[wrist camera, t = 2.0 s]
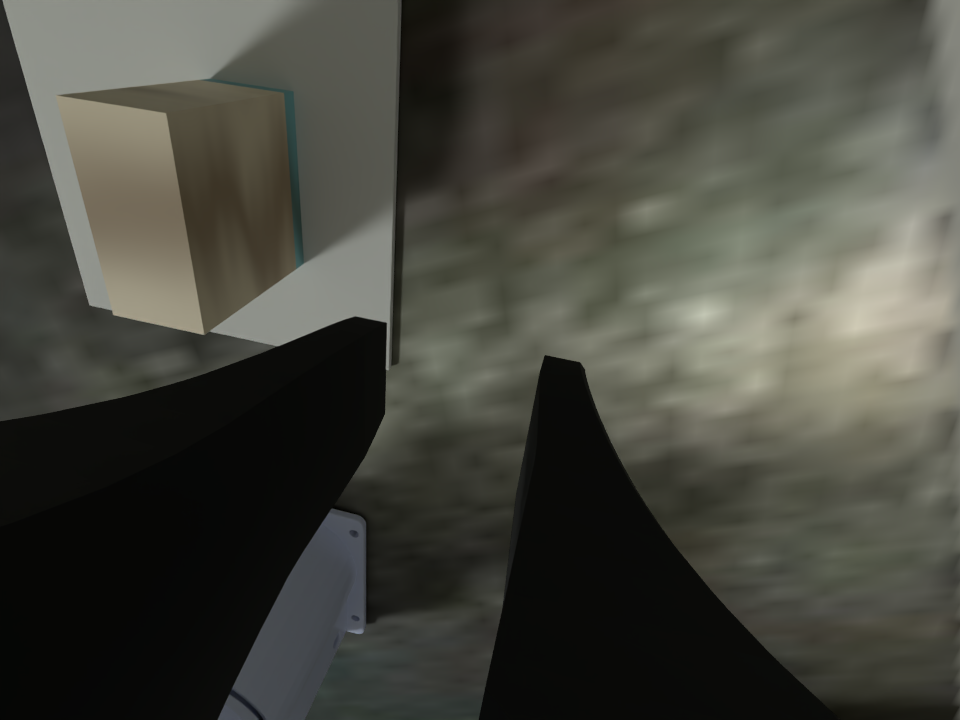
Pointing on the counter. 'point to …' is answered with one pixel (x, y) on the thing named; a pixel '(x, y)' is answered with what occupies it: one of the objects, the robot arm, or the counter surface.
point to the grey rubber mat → (262, 62)
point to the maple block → (188, 195)
